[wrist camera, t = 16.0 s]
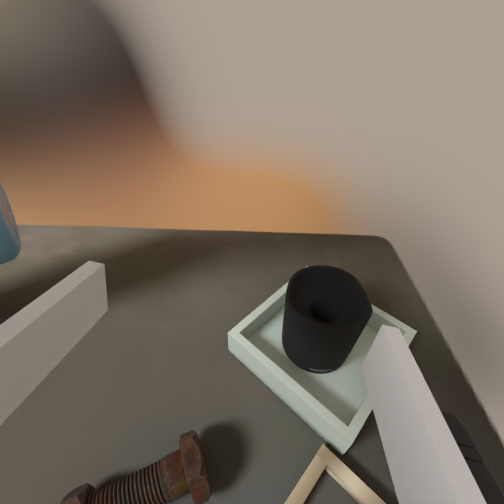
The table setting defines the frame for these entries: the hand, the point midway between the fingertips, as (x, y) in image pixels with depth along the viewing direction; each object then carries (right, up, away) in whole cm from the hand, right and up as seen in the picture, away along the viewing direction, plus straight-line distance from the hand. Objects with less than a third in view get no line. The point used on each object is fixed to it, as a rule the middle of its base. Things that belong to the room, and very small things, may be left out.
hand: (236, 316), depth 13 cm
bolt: (-11, -20, +13) cm, 26 cm away
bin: (+10, -10, +25) cm, 28 cm away
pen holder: (+9, -9, +24) cm, 28 cm away
